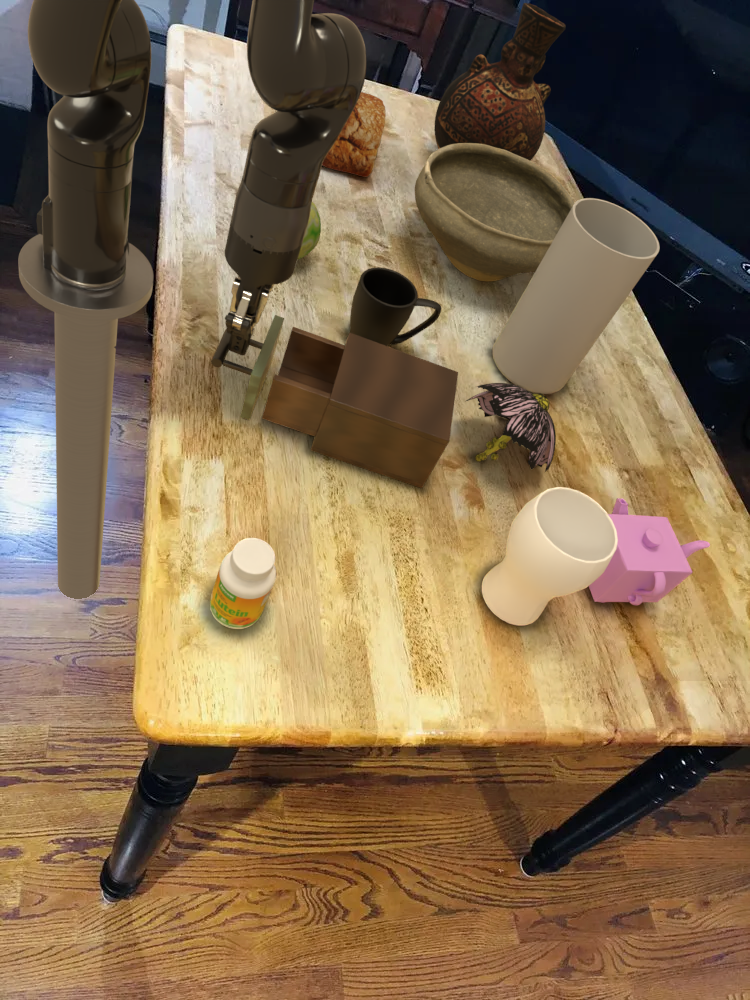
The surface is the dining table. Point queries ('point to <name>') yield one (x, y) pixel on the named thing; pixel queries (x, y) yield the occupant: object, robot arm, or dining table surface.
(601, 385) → the dining table surface
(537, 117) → the ceramic vessel
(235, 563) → the supplement bottle
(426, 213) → the bowl
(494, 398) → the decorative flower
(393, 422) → the cabinet
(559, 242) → the cylinder vase
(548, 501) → the cup
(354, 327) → the mug
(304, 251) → the decorative ball
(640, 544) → the teapot
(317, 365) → the drawer
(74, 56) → the robot arm
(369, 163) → the bread
